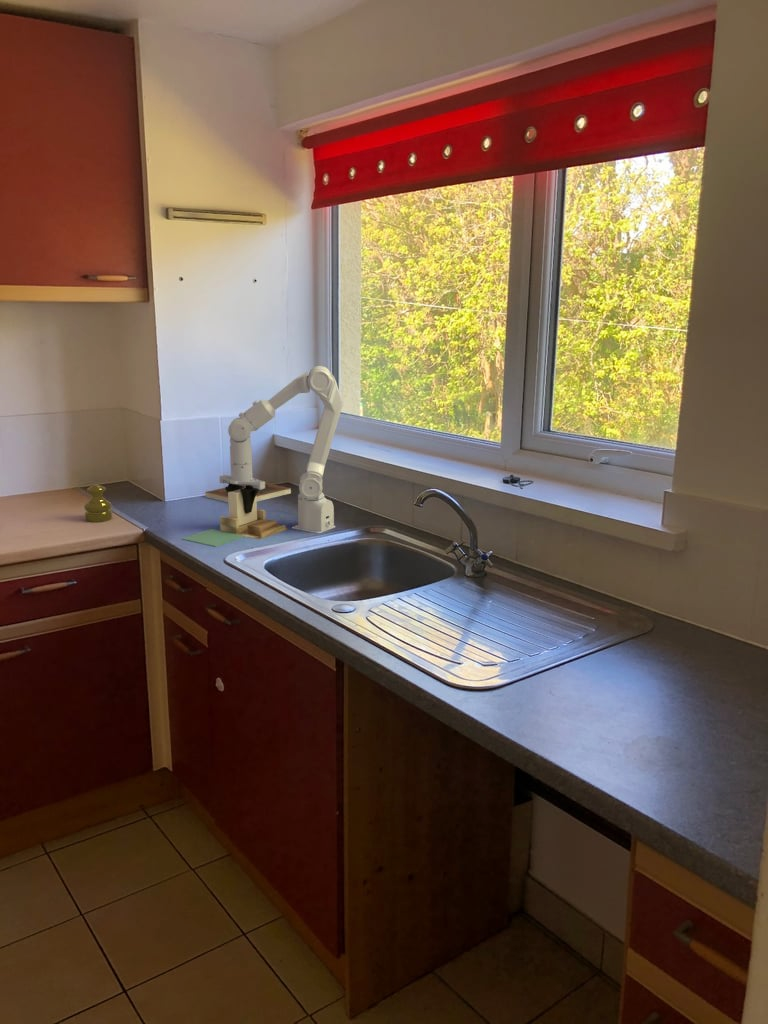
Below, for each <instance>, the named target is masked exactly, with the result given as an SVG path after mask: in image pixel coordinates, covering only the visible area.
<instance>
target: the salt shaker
mask: <svg viewBox="0 0 768 1024" xmlns="http://www.w3.org/2000/svg"><path fill="white" fill-rule="evenodd" d="M106 488H107V487H105V486H103V485H100V484H97V483H96V484H93V485H92V486H90V487H88V488H86V491H87V492H88V493H90V494H91V498H90V499H89V500H88V501H87V502H85V503H84V504H83V509H84V510H85V511H84V519H85V521H87V522H91V523H102V522H107V521H110V520H111V519H113V510H112V509H111V508H112V503H111V502H110V501H109V500H107V499H106V498H104V496H103V493H104V492H105V491H106Z"/></svg>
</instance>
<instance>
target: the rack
mask: <svg viewBox="0 0 768 1024" xmlns="http://www.w3.org/2000/svg"><path fill="white" fill-rule="evenodd" d="M266 516H267V514H266V510H265V509H260V508H257V520H255V521H252V522H249V523H246V524H243V525H240V526H239V519H235V518H230V517H229V516H226V515H220V517H219V525H220V530H219V531H224V532H229V533H234V534H239V535H243V536H245V537H247V538H252V539H256V540H262V539H264V538H265V539H266V538H267V537H271V536H273V535H276V534H279V533H280V532H284V531H287V530H288V528H287V527H286V524H283V525H280V526H279V527H277V528H274V529H271V530H268V531H265V532H263V533H260V536H256V535H251V534H248V526H247V525H250V524H253V523H256V522H259V521H262V520H265V519H267V517H266Z"/></svg>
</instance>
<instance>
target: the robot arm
mask: <svg viewBox="0 0 768 1024" xmlns="http://www.w3.org/2000/svg"><path fill="white" fill-rule="evenodd" d="M339 389H340V388H338V383H337V380H336V378H335V376H334V374H333V373H332V372H331V370H329V368H327V367H326V366H323V365H317V366H315V367H313V368H311V369H310V371H306V372H304V373H302V374H301V375H300V376H297V377H296V378H294V379H293V380H292V381H291V382H289V383H288V384H287V385H286V386H285V387H283V388H282V389H281V390H280V391H278V392H276V393H275V395H273V396H272V397H271V398H270V399H268V400H266V399H259V401H257V400H255V401H253V402H252V406H251V407H250V408H248V409H246V410H245V411H244V412H240V413H238V417H235V418H234V419H233V420H232V421H231V423H229V426H228V429H227V433H228V436H229V443H230V446H229V459H230V462H229V463H230V475H229V474H223V475H220V476H219V484H228V485H226V486H225V487H224V488H225V490H226V491H227V492H231V491H235V490H238V489H240V491H241V494H242V497H243V503H244V511H245V513H250V512H252V507H253V503H254V499H255V497H256V495H257V493H258V491H259V490H261V489H264V488H265V483H266V481H264V480H261V479H257V478H254V477H253V459H252V458H253V456H252V455H253V454H252V451H253V450H252V444H251V434H252V432H257V430H258V431H259V429H260V428H262V427H263V426H264V425H266V424H267V423H268V422H270V421H271V420H273V419H274V418H275V417H276V416H275V415H276V411H277V409H279V408H280V407H282V406H283V405H285V404H286V403H288V402H289V401H290V400H292V399H293V398H295V397H296V396H297V395H298V394H308V393H310V390H312V391H313V392H314V393H315V394H316V395H317V396H318V397H319V399H320V400H321V402H322V404H323V405H324V408H323V411H322V414H321V418H320V421H319V424H318V428H317V430H316V431H317V432H316V435H315V439H314V441H313V442H314V443H313V445H312V449H311V453H310V456H309V460H308V462H307V465H306V468H305V470H304V472H302V473H301V474H300V476H299V485H298V490H299V493H298V494H297V512H298V513H297V516H298V519H297V520H298V522H297V524H296V525H294V526H292V527H291V529H295V530H297V531H298V530H299V531H304V532H309V533H313V534H321V533H324V532H327V531H330V530H332V529H335V528H336V525H335V511H334V510H335V509H334V507H335V506H334V504H333V501H332V500H330V499H327V498H326V497H325V494H324V493H323V487H324V486H323V477H324V472H325V467H326V463H327V461H328V457H329V453H330V450H331V445H332V443H333V439H334V437H335V432H336V429H337V425H338V422H339V418H340V415H341V412H342V409H343V406H344V405H343V403H344V402H343V397H342V395H341V393H340V390H339ZM244 486H245V488H244Z"/></svg>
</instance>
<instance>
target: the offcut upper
mask: <svg viewBox="0 0 768 1024" xmlns="http://www.w3.org/2000/svg"><path fill="white" fill-rule="evenodd" d="M278 525H279V524H278V520H271V519H267V518H266V519H265V520H262V521H259V522H256V523H253V524H250V525H247V526H248V530H252V531H257V532H261V531H264V530H267V529H270V528H273V527H275V526H278Z"/></svg>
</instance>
